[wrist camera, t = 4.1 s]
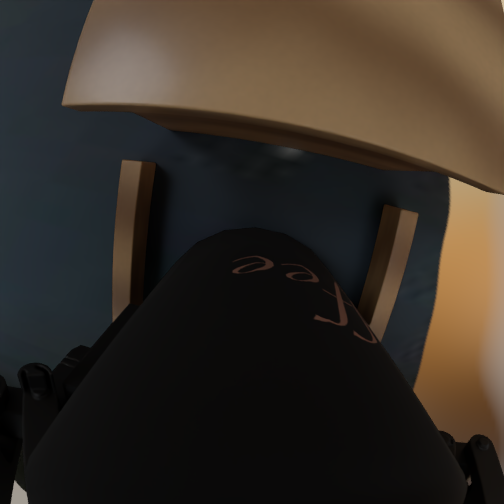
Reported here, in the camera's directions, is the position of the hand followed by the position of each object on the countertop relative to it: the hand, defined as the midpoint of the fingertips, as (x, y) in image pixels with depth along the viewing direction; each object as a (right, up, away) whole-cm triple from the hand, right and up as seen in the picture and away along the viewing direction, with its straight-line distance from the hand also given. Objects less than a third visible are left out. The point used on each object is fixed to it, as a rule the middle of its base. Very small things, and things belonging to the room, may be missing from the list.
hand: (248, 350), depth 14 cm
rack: (+2, +10, +3) cm, 10 cm away
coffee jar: (0, +1, +5) cm, 5 cm away
